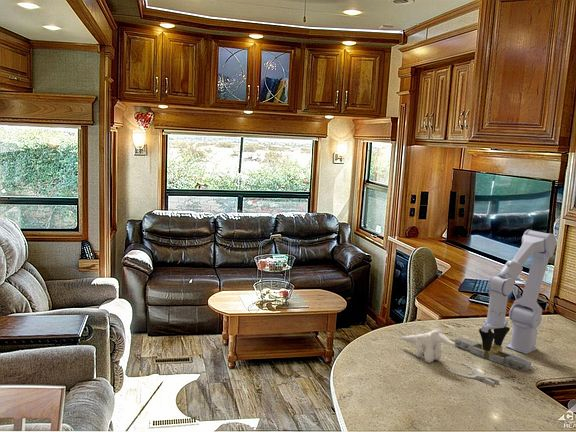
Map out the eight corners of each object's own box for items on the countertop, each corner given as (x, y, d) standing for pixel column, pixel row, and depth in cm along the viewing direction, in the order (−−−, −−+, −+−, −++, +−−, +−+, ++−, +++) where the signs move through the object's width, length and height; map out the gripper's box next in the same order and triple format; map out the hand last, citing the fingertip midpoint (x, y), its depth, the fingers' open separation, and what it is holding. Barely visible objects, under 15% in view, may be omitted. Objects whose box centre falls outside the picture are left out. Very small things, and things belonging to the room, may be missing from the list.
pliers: (463, 360, 174) (505, 377, 163) (462, 364, 174) (504, 382, 163) (445, 366, 168) (488, 385, 157) (445, 371, 168) (487, 390, 157)
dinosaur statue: (447, 370, 166) (448, 336, 165) (390, 351, 185) (391, 320, 185) (460, 366, 170) (461, 333, 169) (403, 347, 189) (404, 317, 189)
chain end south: (462, 342, 194) (463, 336, 194) (492, 353, 185) (493, 347, 185) (453, 346, 190) (453, 339, 190) (483, 357, 181) (484, 351, 181)
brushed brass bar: (484, 353, 186) (486, 341, 185) (500, 359, 181) (502, 346, 181) (480, 354, 184) (481, 342, 183) (496, 360, 179) (498, 348, 179)
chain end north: (498, 355, 184) (498, 349, 184) (531, 368, 175) (532, 361, 175) (488, 359, 180) (489, 353, 179) (523, 372, 171) (524, 365, 170)
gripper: (496, 304, 188) (491, 340, 190) (475, 310, 179) (470, 348, 180) (515, 310, 183) (510, 346, 184) (494, 316, 173) (489, 355, 175)
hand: (492, 348), depth 182 cm, fingers open, 7 cm apart
